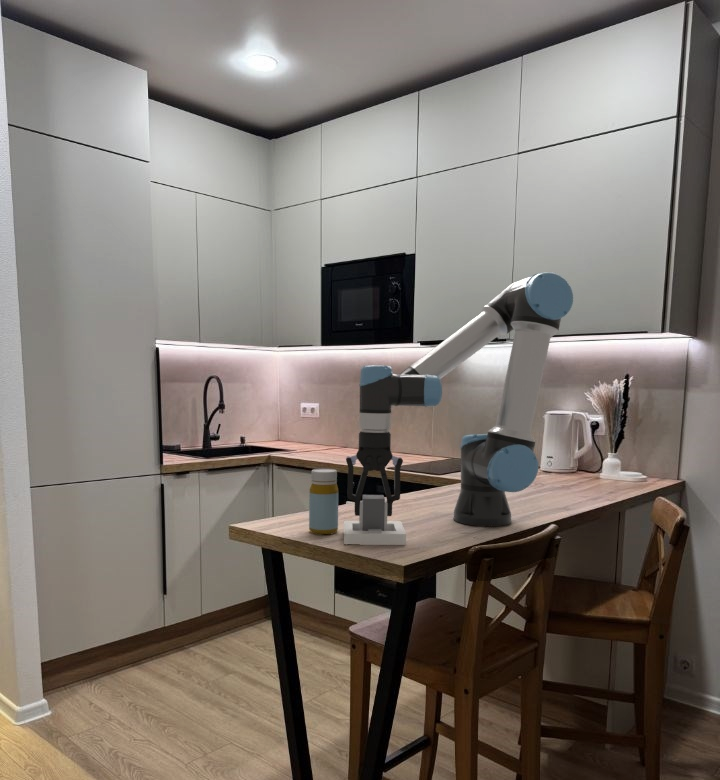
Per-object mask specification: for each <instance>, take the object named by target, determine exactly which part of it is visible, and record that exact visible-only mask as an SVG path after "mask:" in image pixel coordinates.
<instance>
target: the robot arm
mask: <svg viewBox="0 0 720 780" xmlns="http://www.w3.org/2000/svg"><path fill="white" fill-rule="evenodd" d="M573 304H574V293H573V290H572V287H571V285H570V284H569V283H568V281H567V279H566V278H564V277H563V276H562V275H560V274H558V273H556V272H555V273H554V272H552V271H549V272H548V271H546V272H538V273H535V274H533V275H531V276H529V277H526V278H523V279H520V280H517V281H515V282H513V283H511V284H509V285H508V286H507V287H506V288H505V289H503V290H502V291H501V292H500V293H499V294H498V295H497V296H495V297H494V298H493V299H492V300H490V301H489V302H488V303H486V304H485V305H483V307H481V308H482V309H481V313H480V314H478V315H477V316H475V317H474V318H473V319H471V320H470V321H469V322H467V323H466V324H465V325H463V326H462V327H461V328H459V329H458V330H456V331H455V332H454V333H453V334H451V335H450V336H448V337H447V338H446V339H445V340H443V341H442V342H440V343H439V344H438V345H437V346H435V347H434V348H432V349H431V350H430V351H428V352H427V353H425V354H424V355H422V356H421V357H420V358H419V359H418V360H416V361H415V362H413V363H412V364H411V365H409V366H408V367H407V368H404V369H403V371H401V372H400V373H399V374H396V373H393V368H392V366H391V365H380V364H379V365H378V364H377V365H376V364H374V365H373V364H372V365H364V366H362V367H361V369H360V374H359V375H360V376H359V414H358V416H359V417H358V428H359V430H361V431H359V433H358V451H357V452H356V454H354V455H351V456H346V458H345V462H346V465H347V468H348V469H347V493H346V495H347V499H348V500H350V501H353V502H354V516H355V517H358V518H359V519H358V521H359V531H363V500H361V499H362V497H363V493H364V487H365V485H366V481H367V478H368V477H367V476H368V474H369V472H371V471H376V472H379V473H380V477H381V481H382V485H383V489H384V493H385V499H386V500H385V515H384V531H387V521H388V517H392V515H393V503H394V502H396V501H400V500H401V467H402V464H403V463H404V459H403V458H402V457H401V456H399V457H398V456H397V455H396V456H395V455H393V453H392V449H391V439H392V433H391V432H390V430H391V429H392V407H398V406H400V407H425V408H427V407H436V406H438V405H440V402H441V401H442V396H443V395H442V394H443V385H442V380H441V379H443V377H446V376H447V374H450V373H451V372H452V371H453V370H454V369H456V368H457V367H459V366H460V365H461V364H462V363H464V362H465V361H467V360H468V359H469V358H471V357H472V356H473V355H475V354H476V353H477V352H479V351H480V350H481V349H483V348H484V347H486V346H487V345H489V344H490V343H491V342H492V341H494V340H495V339H496V338H498V337H499V336H501V337H505V336H507V335H508V334H509V333H511V332H512V331H514V336H513V341H512V345H511V346H512V347H511V351H510V355H509V361H508V365H507V370H506V375H505V380H504V385H503V389H502V393H501V398H500V404H499V408H498V412H497V417H496V421H495V425H494V426H492V428H490V429H488V431H487V433H483V434H482V433H480V434H479V433H478V434H467V435H463V436H462V438H461V445H460V447H459V448H460V492H459V495H458V498H457V501H456V504H455V507H454V509H453V520H454V521H455V522H457V523H460V524H464V525H469V526H475V527H501V526H506V525H509V524H511V523H512V512H511V508H510V505H509V502H508V498H507V495H506V492H508V493H517V492H522V491H524V490H526V489H527V488H529V486H531V485H532V484H533V482H534V481H535V480H536V478H537V476H538V473H539V461H538V458H537V456H536V454H535V453H534V449H535V445H536V440H535V438H534V436H533V435H532V428H533V424H534V418H535V414H536V409H537V404H538V398H539V395H540V388H541V385H542V381H543V380H542V379H543V377H544V376H543V374H544V370H545V366H546V361H547V355H548V351H549V346H550V342H551V338H552V337H553V336H555V335H557V334H558V333H559V330H560V326H561V321H562V319H563V318H564V317H565V316H567V314H568V313H569V312H570V310H571V309H572V307H573ZM391 460H392V465H393V466H394V471H393V472H394V475H393V478H394V479H393V480H394V481H393V482H394V483H393V487H394V488H393V491H394V494H392V492H391V488H390V484H389V480H388V475H387V471H386V467H387V466H388V465H389V463H390V462H391ZM357 461H359V463H360V464H361V466H362V469H361V475H360V479H359V482H358V485H357V489H356V493H355V494H354V491H353V490H354V466H355V465H356V462H357Z"/></svg>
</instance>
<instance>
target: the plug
mask: <svg viewBox="0 0 720 780" xmlns="http://www.w3.org/2000/svg"><path fill="white" fill-rule="evenodd" d="M362 501H363V531H368V529H381V530H382V531H384V515H385V501H386V497H385V496H384V494H362Z"/></svg>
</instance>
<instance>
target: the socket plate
mask: <svg viewBox="0 0 720 780" xmlns="http://www.w3.org/2000/svg"><path fill="white" fill-rule="evenodd" d="M344 544H360V545H359V546H367V545H368V546H407V545H406V544H407V533H406V530H405V528H404V525H403V523H402V521H400V520H387V531H382V530H381V529H368V531H359V520H344V521H343V545H344Z"/></svg>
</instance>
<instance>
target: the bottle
mask: <svg viewBox="0 0 720 780" xmlns="http://www.w3.org/2000/svg"><path fill="white" fill-rule="evenodd" d="M310 476H311V477H310V478H311V485H310V488H309V496H308V497H309V500H308V501H309V505H308V508H309V511H308V512H309V513H308V515H309V516H308V518H309V519H308V523H309V524H308V527H309V528H308V529H309V531H310V533H312V534H315V535H319V534H328V535H332V534H331V533H333V534H336V533H337V531H338V529H339V488H338V487H339V486H338V484H337V482H338V479H337V477H338V471H337V470H336V469H334V468H314V469H312V470H311V475H310Z"/></svg>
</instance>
